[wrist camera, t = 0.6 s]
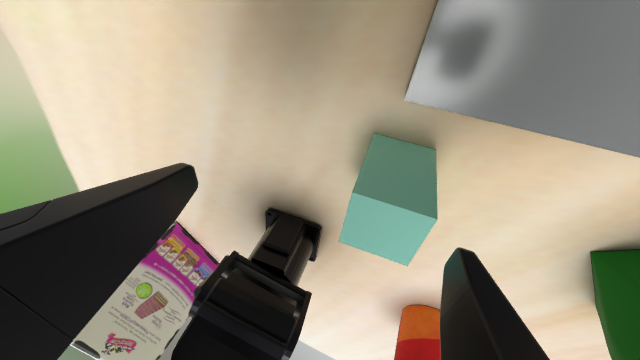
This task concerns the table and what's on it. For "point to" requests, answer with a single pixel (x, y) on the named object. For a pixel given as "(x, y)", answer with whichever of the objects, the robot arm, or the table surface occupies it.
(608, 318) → the milk carton
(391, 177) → the block
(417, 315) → the paper cup
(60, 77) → the table surface
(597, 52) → the board
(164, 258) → the candy bar box
